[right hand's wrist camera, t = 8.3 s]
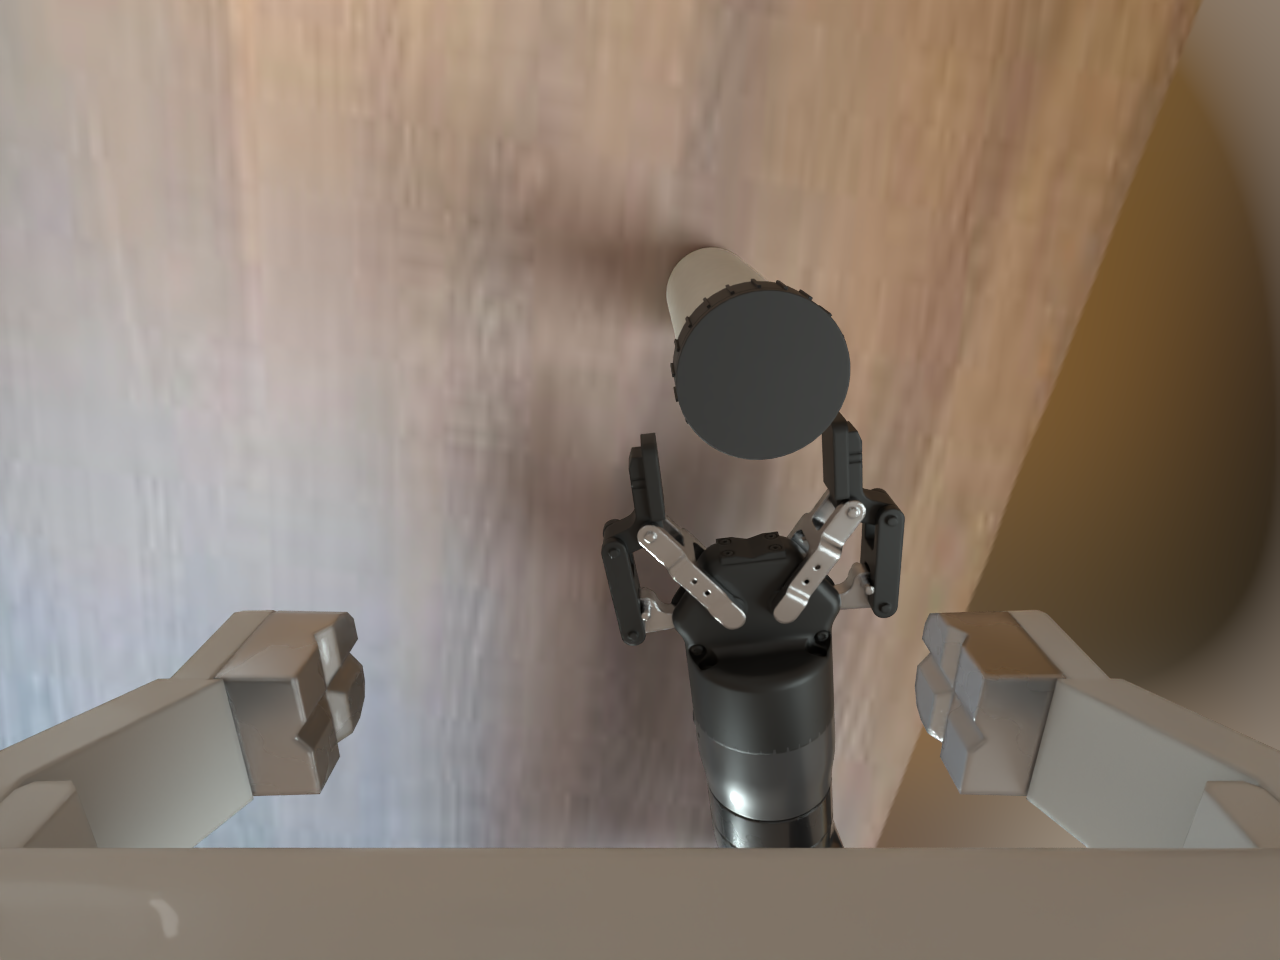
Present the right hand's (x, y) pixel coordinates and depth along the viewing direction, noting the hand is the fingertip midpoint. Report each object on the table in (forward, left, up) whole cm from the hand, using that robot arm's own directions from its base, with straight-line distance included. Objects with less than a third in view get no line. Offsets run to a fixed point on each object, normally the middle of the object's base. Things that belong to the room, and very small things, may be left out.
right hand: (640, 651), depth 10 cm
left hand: (+4, +5, -23) cm, 24 cm away
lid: (-1, +4, -13) cm, 13 cm away
